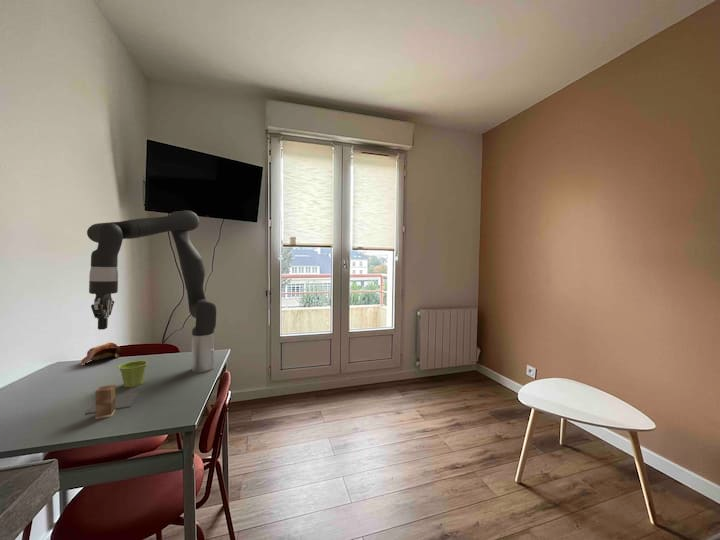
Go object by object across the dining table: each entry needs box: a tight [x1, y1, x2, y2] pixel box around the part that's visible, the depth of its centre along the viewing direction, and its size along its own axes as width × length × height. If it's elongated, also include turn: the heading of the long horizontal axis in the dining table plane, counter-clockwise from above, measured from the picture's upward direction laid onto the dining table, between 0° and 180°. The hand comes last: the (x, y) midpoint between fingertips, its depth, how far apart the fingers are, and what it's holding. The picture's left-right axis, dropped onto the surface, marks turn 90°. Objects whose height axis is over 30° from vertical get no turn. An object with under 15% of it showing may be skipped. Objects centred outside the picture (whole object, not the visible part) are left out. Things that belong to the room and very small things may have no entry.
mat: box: [85, 391, 140, 415], centre depth 103 cm, size 12×12×1 cm
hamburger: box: [80, 342, 121, 366], centre depth 144 cm, size 16×13×10 cm
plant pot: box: [118, 360, 148, 388], centre depth 118 cm, size 9×9×9 cm
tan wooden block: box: [94, 384, 116, 420], centre depth 95 cm, size 4×4×9 cm
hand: (102, 329), depth 100 cm, fingers closed
